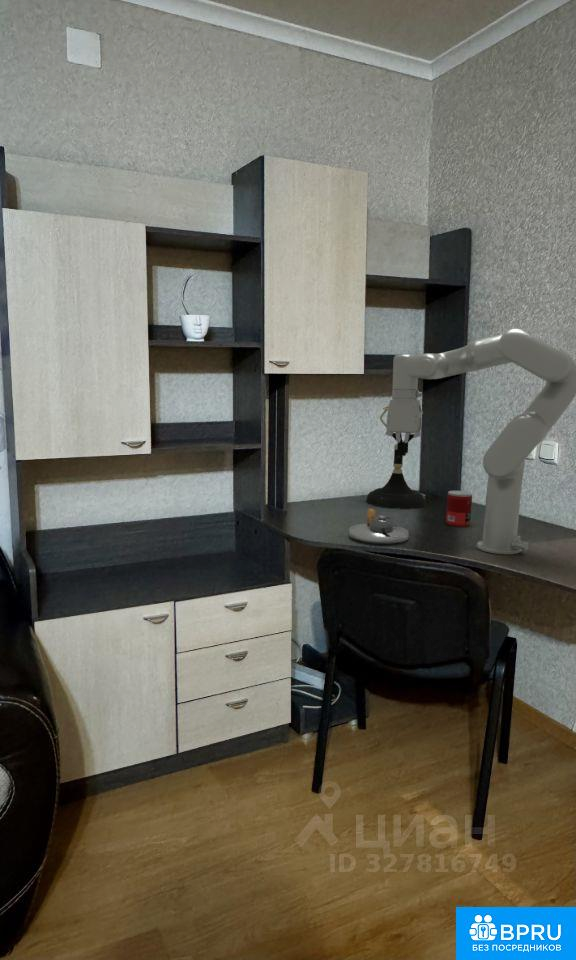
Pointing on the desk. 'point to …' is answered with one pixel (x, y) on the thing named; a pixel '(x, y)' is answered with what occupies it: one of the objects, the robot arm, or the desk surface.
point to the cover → (381, 524)
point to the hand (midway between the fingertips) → (402, 455)
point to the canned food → (459, 508)
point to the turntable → (366, 535)
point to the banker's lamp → (396, 487)
